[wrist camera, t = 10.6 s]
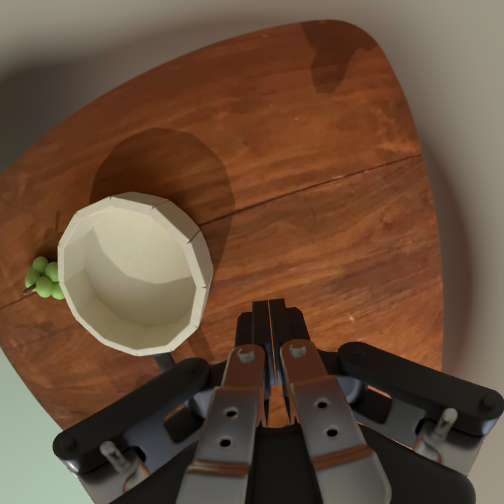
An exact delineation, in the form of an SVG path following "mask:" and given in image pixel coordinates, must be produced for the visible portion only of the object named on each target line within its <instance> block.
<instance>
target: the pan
mask: <svg viewBox="0 0 504 504" xmlns="http://www.w3.org/2000/svg"><path fill="white" fill-rule="evenodd" d="M199 229H200V228H199V227H198V226H197V225H196V224H195V223H194V221H193V220H192V219H191V218H190V217H189V216H188V215H187V214H186V213H185V212H184V211H183V210H181V209H180V208H179V207H178V206H176V205H175V204H174V203H173V202H172V201H169V199H165V198H161V197H157V196H154V195H150V194H142V193H138V192H127V193H122V194H118V195H114V196H109V197H107V198H105V199H102V200H100V201H98V202H96V203H93V204H91V205H89V206H87V207H85V208H82V209H80V210H78V211H77V212H76V213H75V214H74V216H73V218H72V219H71V221H70V223H69V225H68V226H67V228H66V230H65V232H64V234H63V236H62V237H61V239H60V241H59V245H58V281H59V285H60V287H61V290H62V292H63V294H64V296H65V299H66V301H67V303H68V305H69V307H70V309H71V311H72V313H73V315H74V317H75V316H76V317H75V318H76V319H77V320H78V321H79V322H80V323H81V324H82V325H83V326H84V327H85V328H86V329H87V330H88V331H89V332H90V333H91V334H92V335H93V336H94V337H96V338H97V339H98V340H99V341H100V342H101V343H103V342H104V345H107V346H110V347H112V348H115V349H118V350H121V351H123V352H126V353H129V354H132V355H135V356H137V355H138V356H144V355H151V354H153V356H154V358H155V360H156V362H157V363H158V365H159V367H160V369H161V370H162V372H165V371H166V370H168V369H170V368H171V367H173V366H174V365H176V363H175V362H174V360H173V358H172V356H171V354H170V352H171V351H173V350H174V349H176V348H177V347H178V346H179V345H180V344H181V343H182V342H183V341H184V340H185V339H187V338H188V337H189V336H190V335H191V334H192V333H193V332H194V331H195V330H196V329H197V328H198V327H199V324H200V321H201V318H202V315H203V312H204V309H205V306H206V303H207V298H208V294H209V289H210V286H211V280H212V276H213V271H214V270H213V265H212V262H211V257H210V253H209V249H208V246H207V244H206V241H205V239H204V237H203V234H202V231H201V230H199ZM182 405H183V407H185V406H186V404H185V402H184V403H183V404H182Z"/></svg>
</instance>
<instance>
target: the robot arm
mask: <svg viewBox="0 0 504 504" xmlns="http://www.w3.org/2000/svg"><path fill="white" fill-rule="evenodd" d="M269 306H270V316H271V326H272V336H273V346H274V357H275V367H276V378H277V386H279V385H282V389H283V400H284V405H285V409H286V414H287V418H288V423H289V426H286V427H283V428H269V419H270V395H271V386H276V385H275V373H274V361H273V350H272V339H271V329H270V319H269V309H268V300H264V301H254V302H253V303H252V312H244V313H242V314H241V315H240V316H239V317H238V319H237V328H236V338H235V347H234V349H232V350H231V351H230V353H229V355H228V359H227V360H225V361H224V362H221V363H218V364H214V365H210V366H209V364H208V362H207V361H205V360H204V359H201V358H188V359H185V360H182V361H181V362H179V363H177V364H176V365H174V366H173V367H171V368H170V369H168V370H166V371H165V372H163V373H162V374H160V375H159V376H157V377H155V378H154V379H152V380H151V381H149V382H147V383H146V384H144V385H143V386H141V387H139V388H138V389H136V390H134V391H133V392H131V393H129V394H128V395H126V396H124V397H123V398H121V399H119V400H118V401H116V402H114V403H113V404H111V405H109V406H107V407H106V408H104V409H102V410H101V411H99V412H97V413H95V414H93V415H92V416H90V417H88V418H86V419H85V420H83V421H81V422H79V423H77V424H76V425H74V426H72V427H70V428H68V429H66V430H64V431H63V432H61V433H60V434H58V435H57V436H56V438H55V439H54V441H53V451H54V454H55V455H56V456H57V457H58V458H59V459H60V460H61V461H62V462H63V463H64V464H65V465H66V466H67V468H68V469H69V470H70V471H71V472H72V473H73V474H74V475H75V476H76V477H77V478H78V479H79V480H80V482H81V484H82V485H83V487H84V488H85V490H86V491H87V493H88V494H89V496H90V497H91V499H92V500H93V502H94V503H95V504H475V503H476V495H475V490H474V487H473V485H472V483H471V482H470V480H469V479H468V478H467V476H468V474H469V472H470V470H471V468H472V466H473V463H474V461H475V459H476V457H477V455H478V453H479V450H480V448H481V445H482V443H483V440H484V439H485V438H486V436H487V435H488V434H489V432H490V431H491V429H492V428H493V427H494V425H495V424H496V422H497V421H498V419H499V418H500V416H501V414H502V413H503V411H504V399H503V397H502V396H501V395H500V394H499V393H498V392H497V391H495V390H492V389H489V388H486V387H483V386H480V385H476V384H473V383H471V382H468V381H465V380H462V379H459V378H456V377H453V376H450V375H447V374H445V373H442V372H439V371H437V370H434V369H431V368H428V367H426V366H423V365H420V364H417V363H415V362H412V361H409V360H407V359H404V358H402V357H399V356H396V355H394V354H391V353H389V352H386V351H384V350H381V349H378V348H376V347H373V346H371V345H368V344H366V343H363V342H349V343H346V344H344V345H342V346H341V347H340V348H339V349H338V352H325V351H321V350H319V349H317V348H316V346H315V344H314V343H313V342H311V340H310V337H309V334H308V330H307V327H306V324H305V321H304V317H303V314H302V312H301V311H300V310H299V309H298V308H296V307H291V308H286V306H285V302H284V298H282V299H273V300H269ZM368 385H370V386H372V387H374V388H376V389H378V390H381V391H383V392H385V393H387V394H388V395H389V396H390V397H391V398H392V399H390V398H388V397H386V396H384V395H381V394H379V393H377V392H375V391H373V390H371V389H369V388H368ZM184 402H185V404H186V406H185V407H184V408H182V409H181V410H180V411H178V412H177V413H175V414H174V415H173V416H171V417H170V418H168V419H167V420H165V421H164V419H165V417H166V416H167V415H168V414H169V413H170V412H172V411H173V410H175V409H176V408H178V407H179V406H180V405H182V404H183V403H184ZM357 421H358V422H360V423H362V424H364V425H366V426H364V425H361V424H358V423H357ZM382 434H383V435H382ZM384 435H385V436H384ZM386 436H387V437H386ZM388 437H389V438H388ZM198 438H199V440H197V439H198ZM390 438H391V439H390ZM392 439H393V440H395V441H397V442H399V443H401V444H403V445H406V446H408V447H410V448H412V449H413V450H411V449H409V448H407V447H405V446H403V445H401V444H399V443H397V442H395V441H393V440H392ZM196 440H197V441H196ZM161 466H162V467H161ZM158 468H159V469H158ZM157 469H158V470H157ZM154 471H155V472H154ZM153 472H154V473H153ZM151 473H152V474H151ZM150 474H151V475H150Z"/></svg>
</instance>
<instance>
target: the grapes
mask: <svg viewBox="0 0 504 504" xmlns="http://www.w3.org/2000/svg"><path fill="white" fill-rule="evenodd" d="M44 275H46V276H45V277H43V276H44ZM25 284H26V287H27V289H25V290H24V291H23V295H26V294H28V293H29V292H31V291H37V293H38V294H39V295H40V296H42V297H48V296H50V295H51V294H52V296H53V297H54V298H56V299H63V298H64V297H65V296H64V294H63V292H62V290H61V287H60V285H59V281H58V263H57V262H51V263H49V262H48V260H47V259H46V258H45V257H42V256H40V257H37V258H36V259H35V260H34V262H33V268H30V269H29V270H28V272H27V275H26V277H25Z"/></svg>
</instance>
